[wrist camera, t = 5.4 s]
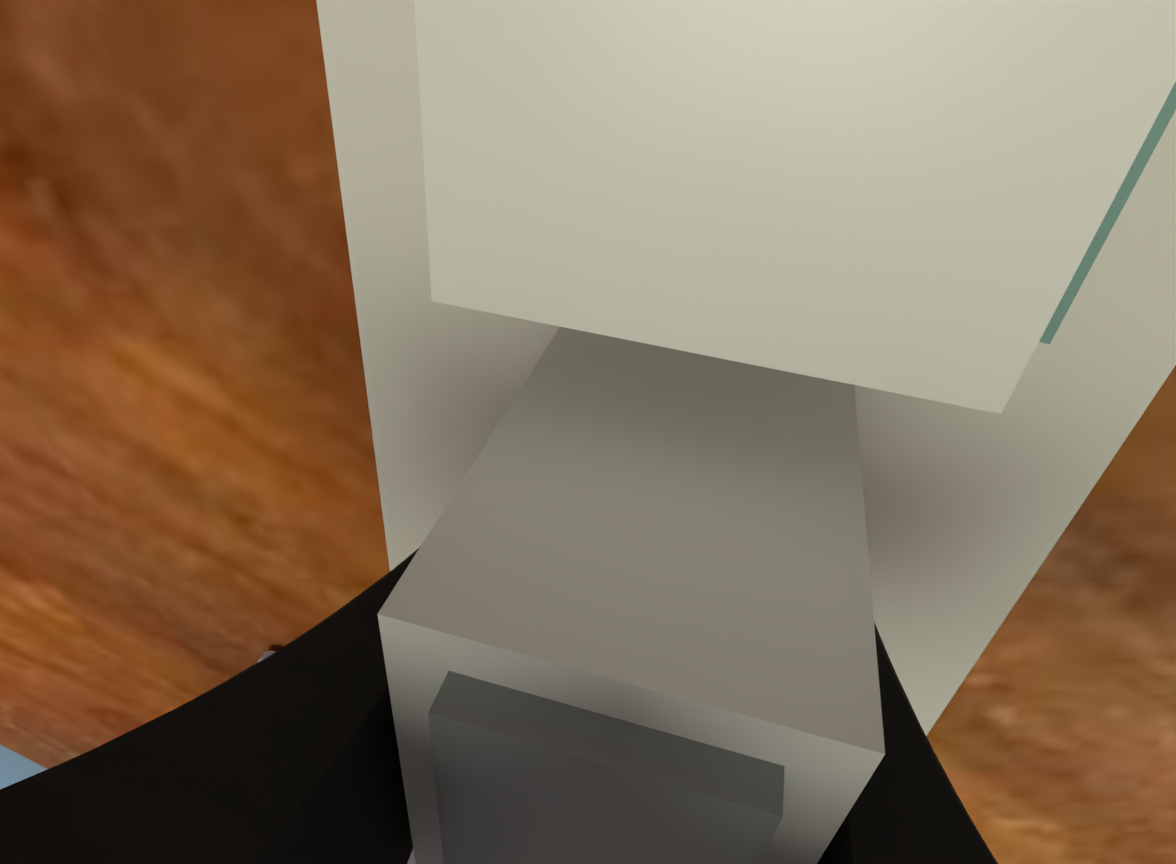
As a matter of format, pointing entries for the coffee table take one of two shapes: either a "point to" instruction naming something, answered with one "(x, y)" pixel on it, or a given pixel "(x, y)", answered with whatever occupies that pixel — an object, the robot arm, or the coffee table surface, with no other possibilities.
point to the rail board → (885, 420)
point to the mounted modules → (791, 173)
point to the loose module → (642, 621)
